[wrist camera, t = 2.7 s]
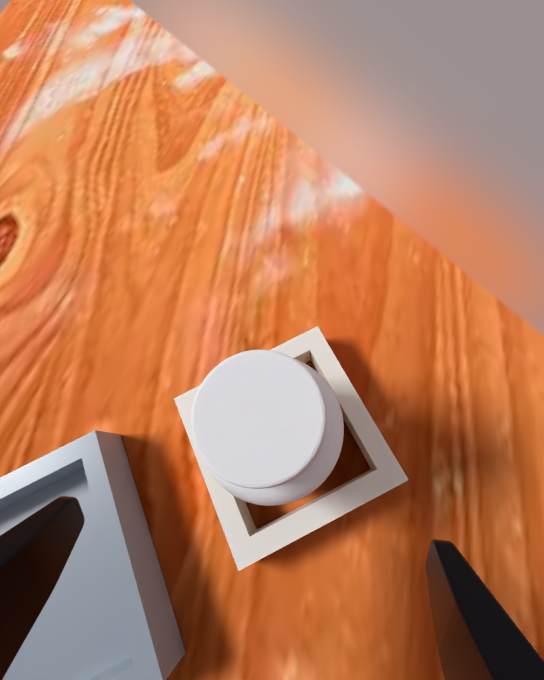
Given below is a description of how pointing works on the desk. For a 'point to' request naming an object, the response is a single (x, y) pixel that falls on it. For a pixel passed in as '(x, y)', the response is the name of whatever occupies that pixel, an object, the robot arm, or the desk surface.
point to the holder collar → (324, 508)
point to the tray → (95, 572)
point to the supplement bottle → (267, 427)
